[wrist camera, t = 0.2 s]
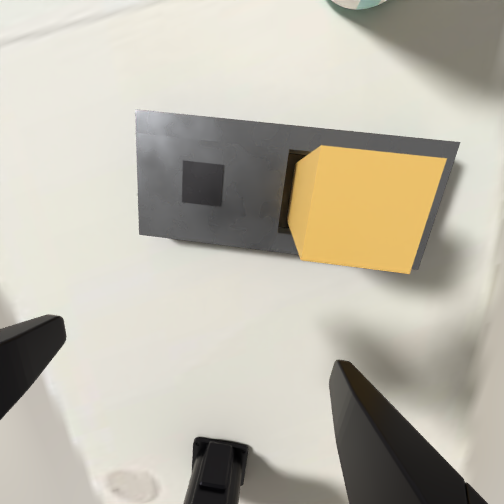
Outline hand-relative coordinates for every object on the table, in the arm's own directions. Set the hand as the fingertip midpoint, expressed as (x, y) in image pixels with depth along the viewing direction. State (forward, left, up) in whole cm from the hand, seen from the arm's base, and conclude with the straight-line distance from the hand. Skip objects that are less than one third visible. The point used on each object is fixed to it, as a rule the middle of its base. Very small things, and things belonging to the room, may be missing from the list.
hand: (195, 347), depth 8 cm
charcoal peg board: (+5, -3, -14) cm, 15 cm away
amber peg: (+5, -6, -14) cm, 16 cm away
